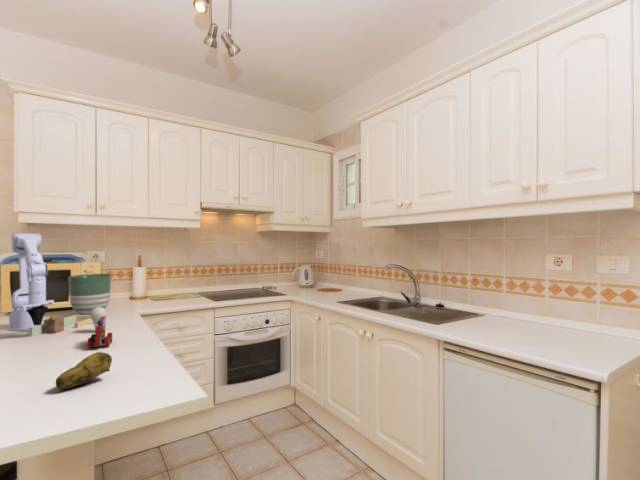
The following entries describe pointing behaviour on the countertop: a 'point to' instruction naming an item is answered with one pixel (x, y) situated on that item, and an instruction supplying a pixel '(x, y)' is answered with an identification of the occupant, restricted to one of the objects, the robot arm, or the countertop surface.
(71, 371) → the potato
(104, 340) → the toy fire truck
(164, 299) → the countertop surface
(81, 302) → the planter
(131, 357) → the countertop surface
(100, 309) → the lightbulb
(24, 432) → the countertop surface
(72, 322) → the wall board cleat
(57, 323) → the cabinet block
